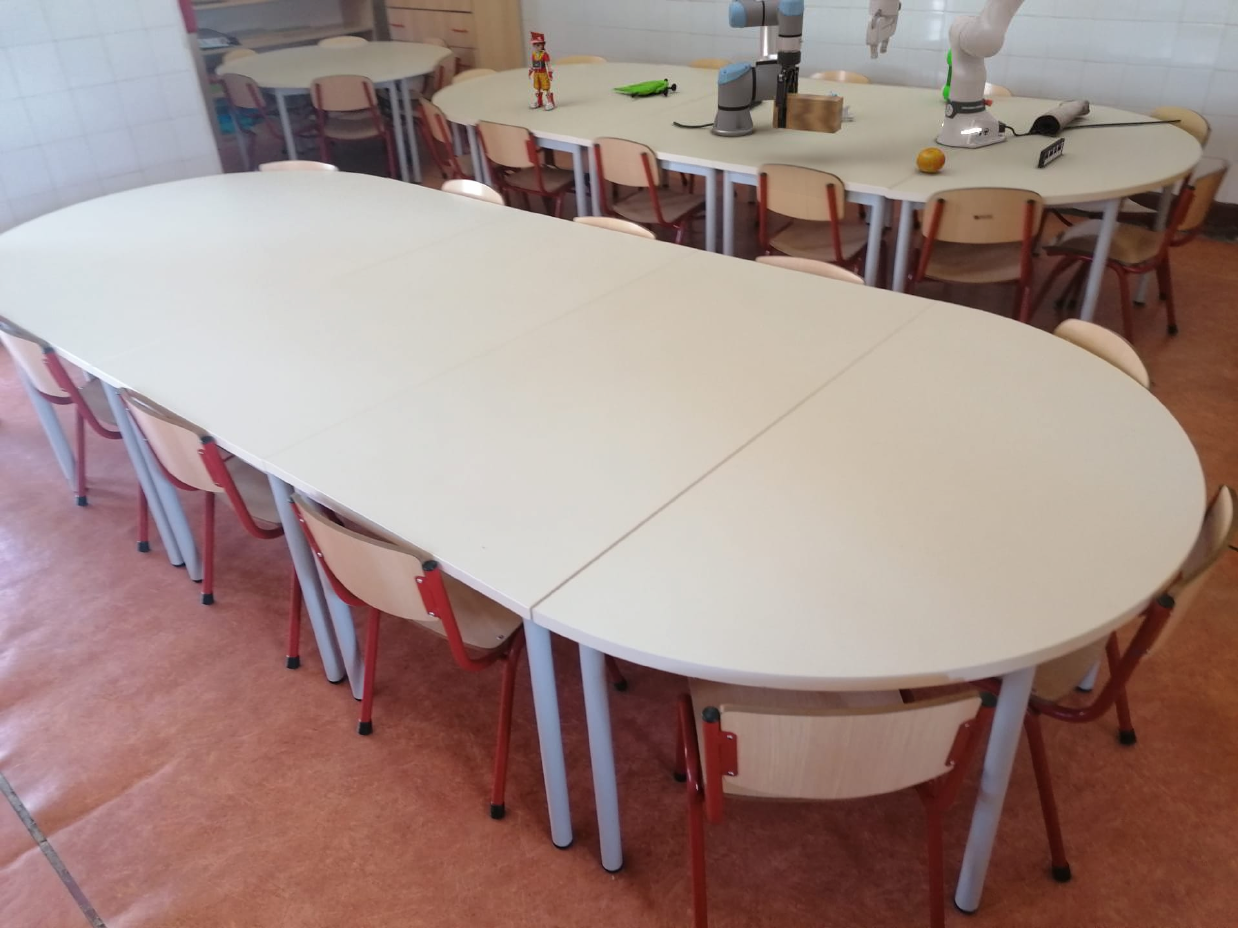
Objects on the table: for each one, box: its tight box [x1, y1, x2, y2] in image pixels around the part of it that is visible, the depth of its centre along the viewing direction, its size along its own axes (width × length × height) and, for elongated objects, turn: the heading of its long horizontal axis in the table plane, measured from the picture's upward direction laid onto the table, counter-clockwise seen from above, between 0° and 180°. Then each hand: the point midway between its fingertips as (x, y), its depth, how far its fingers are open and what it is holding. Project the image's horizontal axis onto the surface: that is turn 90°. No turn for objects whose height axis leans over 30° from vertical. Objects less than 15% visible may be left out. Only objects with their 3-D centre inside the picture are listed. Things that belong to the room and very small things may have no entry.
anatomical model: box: [827, 90, 855, 121], centre depth 343 cm, size 15×10×10 cm
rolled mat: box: [1028, 99, 1091, 137], centre depth 319 cm, size 30×9×10 cm
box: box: [772, 92, 845, 135], centre depth 295 cm, size 22×6×10 cm, turn 59°
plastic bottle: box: [942, 48, 952, 102], centre depth 348 cm, size 10×10×25 cm
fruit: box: [916, 147, 946, 174], centre depth 284 cm, size 8×8×8 cm
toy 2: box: [612, 78, 677, 99], centre depth 396 cm, size 28×5×30 cm
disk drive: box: [749, 101, 763, 110], centre depth 367 cm, size 10×3×15 cm
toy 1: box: [527, 31, 556, 111], centre depth 374 cm, size 12×9×30 cm
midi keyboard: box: [1037, 137, 1066, 168], centre depth 287 cm, size 18×1×5 cm, turn 138°
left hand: (785, 125), depth 300 cm, fingers closed on box, 6 cm apart
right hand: (878, 56), depth 286 cm, fingers open, 8 cm apart
